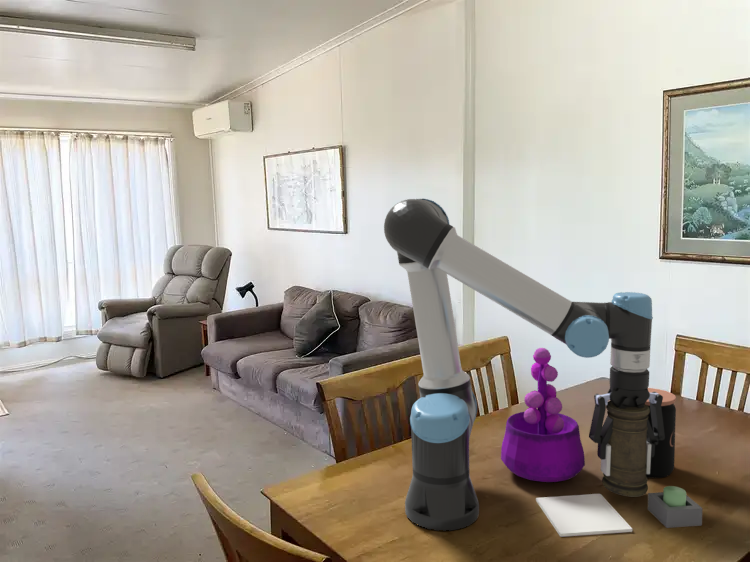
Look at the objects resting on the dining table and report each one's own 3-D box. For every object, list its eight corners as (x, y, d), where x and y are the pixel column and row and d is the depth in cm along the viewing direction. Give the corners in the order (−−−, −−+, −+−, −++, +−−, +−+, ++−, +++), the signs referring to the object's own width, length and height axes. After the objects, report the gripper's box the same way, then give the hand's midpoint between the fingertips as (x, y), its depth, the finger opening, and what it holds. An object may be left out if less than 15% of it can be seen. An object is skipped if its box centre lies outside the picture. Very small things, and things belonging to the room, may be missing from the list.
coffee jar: (680, 480, 133) (682, 402, 130) (629, 478, 135) (630, 401, 133) (666, 460, 143) (668, 388, 141) (619, 458, 145) (620, 386, 143)
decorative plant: (491, 459, 147) (490, 341, 143) (564, 454, 149) (564, 336, 145) (516, 496, 128) (515, 361, 125) (599, 489, 130) (600, 355, 126)
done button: (670, 518, 116) (670, 496, 115) (658, 508, 120) (659, 486, 119) (689, 516, 116) (690, 495, 115) (678, 506, 120) (678, 485, 119)
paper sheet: (560, 536, 112) (560, 533, 112) (535, 500, 126) (535, 497, 126) (632, 531, 113) (632, 528, 113) (600, 496, 127) (600, 493, 127)
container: (644, 501, 120) (648, 415, 118) (598, 490, 125) (600, 408, 123) (650, 483, 128) (654, 402, 125) (606, 473, 132) (609, 395, 130)
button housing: (666, 527, 114) (667, 510, 114) (647, 509, 121) (648, 493, 121) (701, 525, 114) (702, 508, 114) (681, 507, 121) (681, 490, 121)
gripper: (588, 374, 119) (584, 482, 122) (688, 371, 120) (682, 478, 123) (573, 364, 126) (570, 466, 129) (668, 361, 127) (663, 462, 130)
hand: (625, 472), depth 126 cm, fingers closed on container, 8 cm apart
